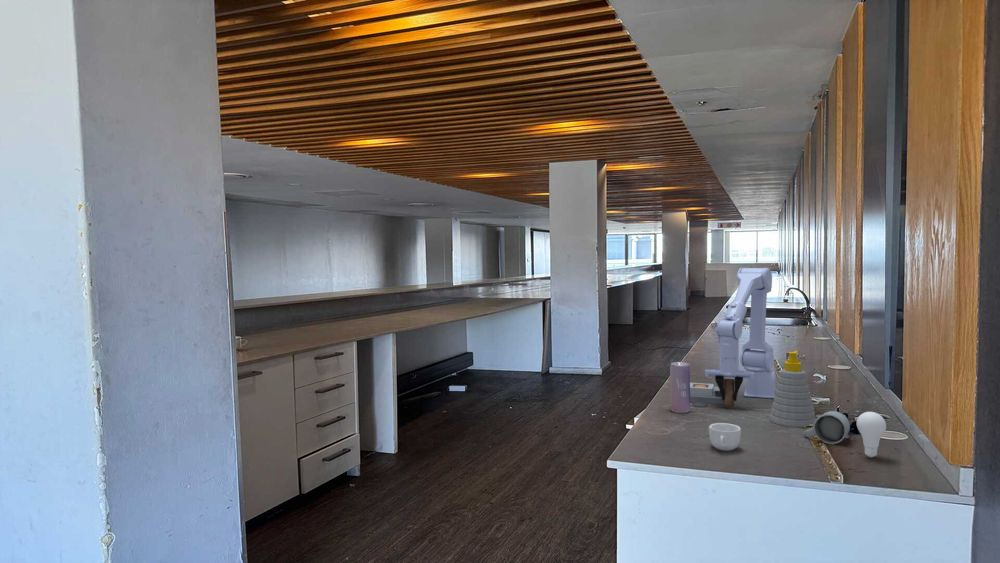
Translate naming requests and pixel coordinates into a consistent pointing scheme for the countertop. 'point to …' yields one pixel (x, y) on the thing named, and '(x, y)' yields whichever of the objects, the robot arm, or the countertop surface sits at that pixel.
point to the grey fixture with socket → (705, 394)
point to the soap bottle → (792, 396)
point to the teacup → (724, 436)
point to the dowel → (729, 393)
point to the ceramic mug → (830, 427)
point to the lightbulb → (871, 431)
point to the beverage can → (680, 387)
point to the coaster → (699, 404)
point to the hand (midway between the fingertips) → (729, 399)
